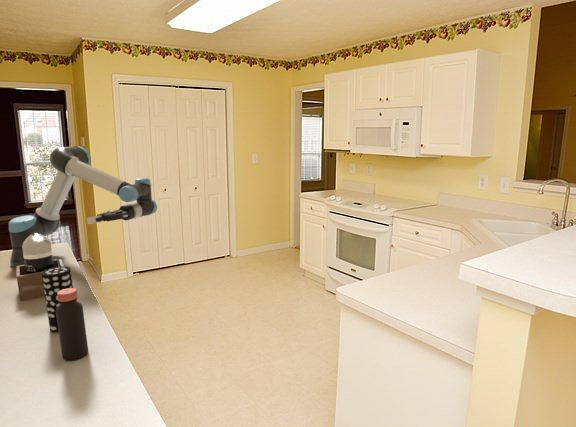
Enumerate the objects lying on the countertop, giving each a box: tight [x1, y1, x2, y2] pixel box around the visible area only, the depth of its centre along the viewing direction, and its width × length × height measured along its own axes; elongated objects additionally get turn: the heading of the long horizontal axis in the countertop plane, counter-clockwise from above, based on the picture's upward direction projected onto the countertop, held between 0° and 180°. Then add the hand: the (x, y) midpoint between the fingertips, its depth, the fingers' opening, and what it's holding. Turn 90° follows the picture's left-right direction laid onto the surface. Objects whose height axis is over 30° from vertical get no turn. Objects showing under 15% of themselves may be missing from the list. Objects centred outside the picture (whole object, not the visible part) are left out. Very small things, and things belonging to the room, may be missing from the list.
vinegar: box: [56, 287, 89, 362], centre depth 115 cm, size 7×7×20 cm
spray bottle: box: [22, 232, 54, 274], centre depth 165 cm, size 10×10×25 cm
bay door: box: [58, 258, 65, 267], centre depth 171 cm, size 16×1×10 cm, turn 34°
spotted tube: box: [42, 266, 74, 334], centre depth 133 cm, size 8×8×20 cm
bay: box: [15, 259, 59, 302], centre depth 166 cm, size 16×15×10 cm
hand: (88, 221), depth 177 cm, fingers closed
